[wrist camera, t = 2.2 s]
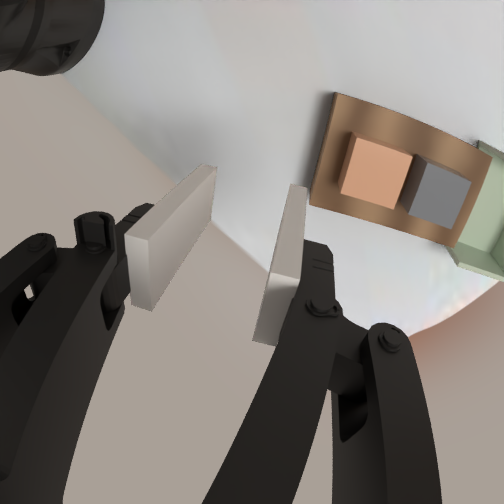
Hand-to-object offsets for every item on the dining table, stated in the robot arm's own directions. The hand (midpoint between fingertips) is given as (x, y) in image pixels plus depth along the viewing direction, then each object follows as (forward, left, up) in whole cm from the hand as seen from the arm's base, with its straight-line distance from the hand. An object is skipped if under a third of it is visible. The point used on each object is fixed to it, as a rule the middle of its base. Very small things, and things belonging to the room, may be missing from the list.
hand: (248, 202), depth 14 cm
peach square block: (+9, 0, -15) cm, 17 cm away
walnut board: (+13, 0, -19) cm, 22 cm away
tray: (+26, 0, -19) cm, 32 cm away
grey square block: (+15, 0, -15) cm, 21 cm away
